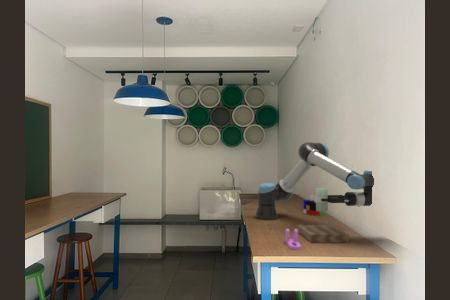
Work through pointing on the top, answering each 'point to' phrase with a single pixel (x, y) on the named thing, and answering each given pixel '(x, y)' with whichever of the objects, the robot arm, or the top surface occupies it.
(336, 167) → the robot arm
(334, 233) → the walnut base
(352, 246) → the top surface
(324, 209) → the green post
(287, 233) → the bracket
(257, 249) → the top surface
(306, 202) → the puzzle toy
